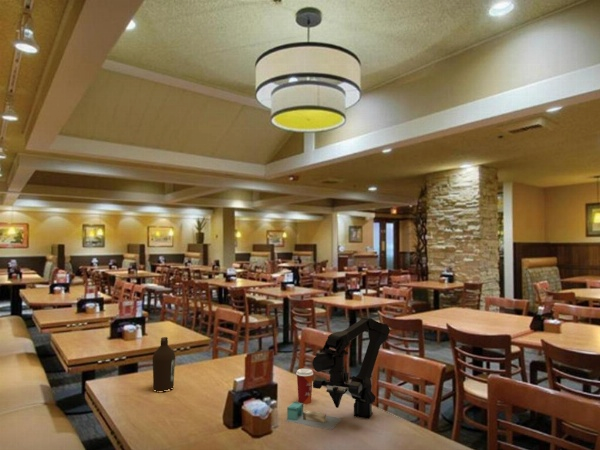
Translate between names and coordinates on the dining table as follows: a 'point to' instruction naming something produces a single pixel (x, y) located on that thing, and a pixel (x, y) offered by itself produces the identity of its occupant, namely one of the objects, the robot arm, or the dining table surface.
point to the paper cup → (304, 385)
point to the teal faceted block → (294, 410)
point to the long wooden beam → (314, 416)
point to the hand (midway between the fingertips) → (337, 407)
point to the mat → (328, 424)
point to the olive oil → (163, 367)
